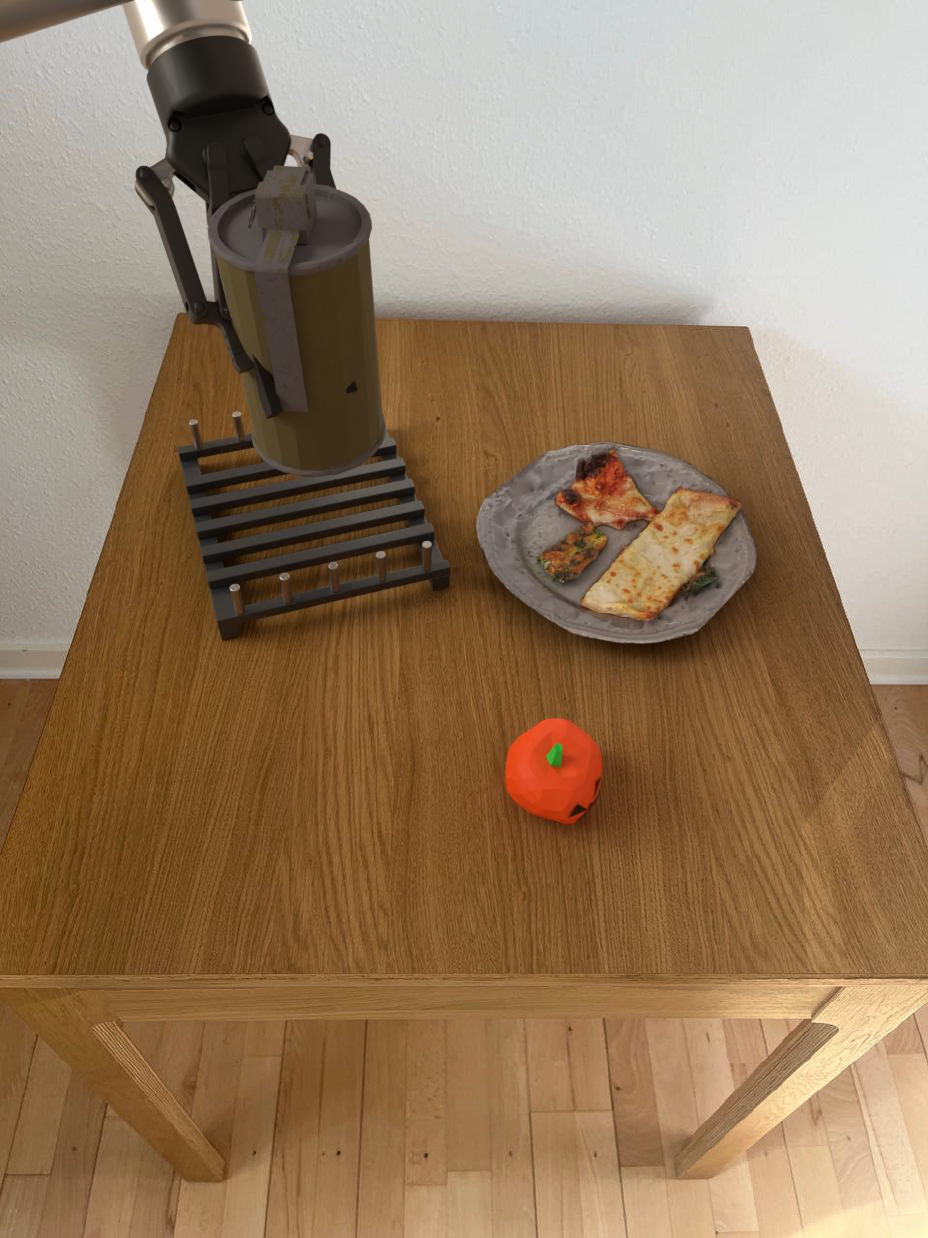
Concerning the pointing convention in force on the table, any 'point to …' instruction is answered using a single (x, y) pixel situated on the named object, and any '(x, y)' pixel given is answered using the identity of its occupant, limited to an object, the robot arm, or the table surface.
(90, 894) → the table surface
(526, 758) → the pumpkin
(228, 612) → the dish rack
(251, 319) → the canister
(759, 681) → the table surface
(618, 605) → the food plate
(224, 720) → the table surface
